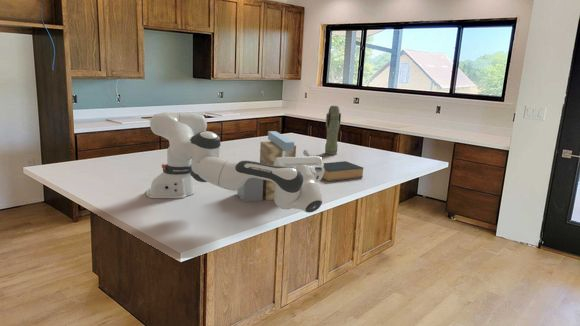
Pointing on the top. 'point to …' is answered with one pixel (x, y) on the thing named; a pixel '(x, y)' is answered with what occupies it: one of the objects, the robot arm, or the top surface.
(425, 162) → the top surface
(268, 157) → the carton
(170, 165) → the robot arm
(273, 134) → the light blue bar
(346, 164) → the book
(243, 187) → the grey rectangular block
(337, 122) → the olive piece
